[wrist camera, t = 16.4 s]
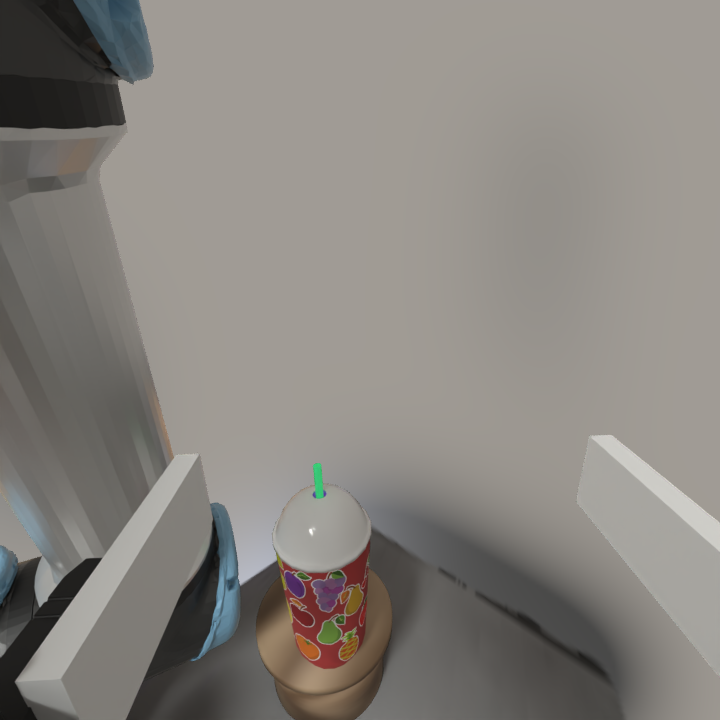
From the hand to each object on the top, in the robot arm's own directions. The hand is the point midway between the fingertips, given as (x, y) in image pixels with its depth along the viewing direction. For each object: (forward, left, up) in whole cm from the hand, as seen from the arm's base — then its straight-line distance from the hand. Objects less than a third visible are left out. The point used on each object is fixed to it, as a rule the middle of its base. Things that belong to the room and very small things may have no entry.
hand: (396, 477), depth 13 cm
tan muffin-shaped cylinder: (-11, +15, -38) cm, 42 cm away
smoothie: (-9, +12, -30) cm, 34 cm away
